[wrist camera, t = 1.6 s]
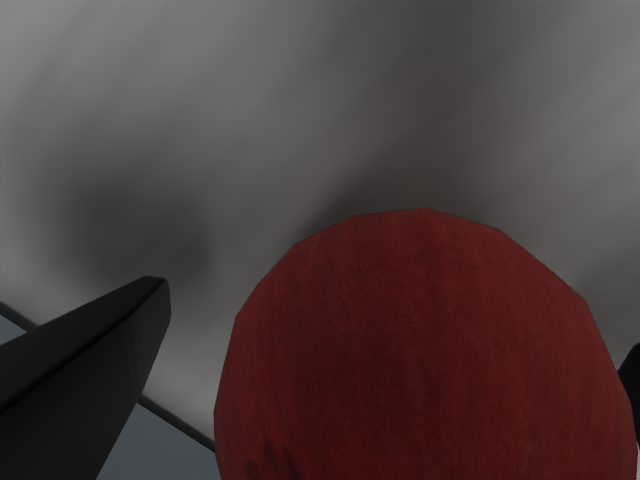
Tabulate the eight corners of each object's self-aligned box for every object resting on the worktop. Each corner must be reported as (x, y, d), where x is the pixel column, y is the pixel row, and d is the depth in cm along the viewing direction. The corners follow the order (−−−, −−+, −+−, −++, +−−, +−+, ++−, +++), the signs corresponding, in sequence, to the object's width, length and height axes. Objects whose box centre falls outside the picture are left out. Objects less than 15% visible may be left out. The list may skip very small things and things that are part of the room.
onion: (345, 386, 12) (327, 924, 5) (218, 229, 10) (-132, 783, 3) (554, 307, 10) (999, 980, 3) (454, 93, 8) (1166, 695, 1)
